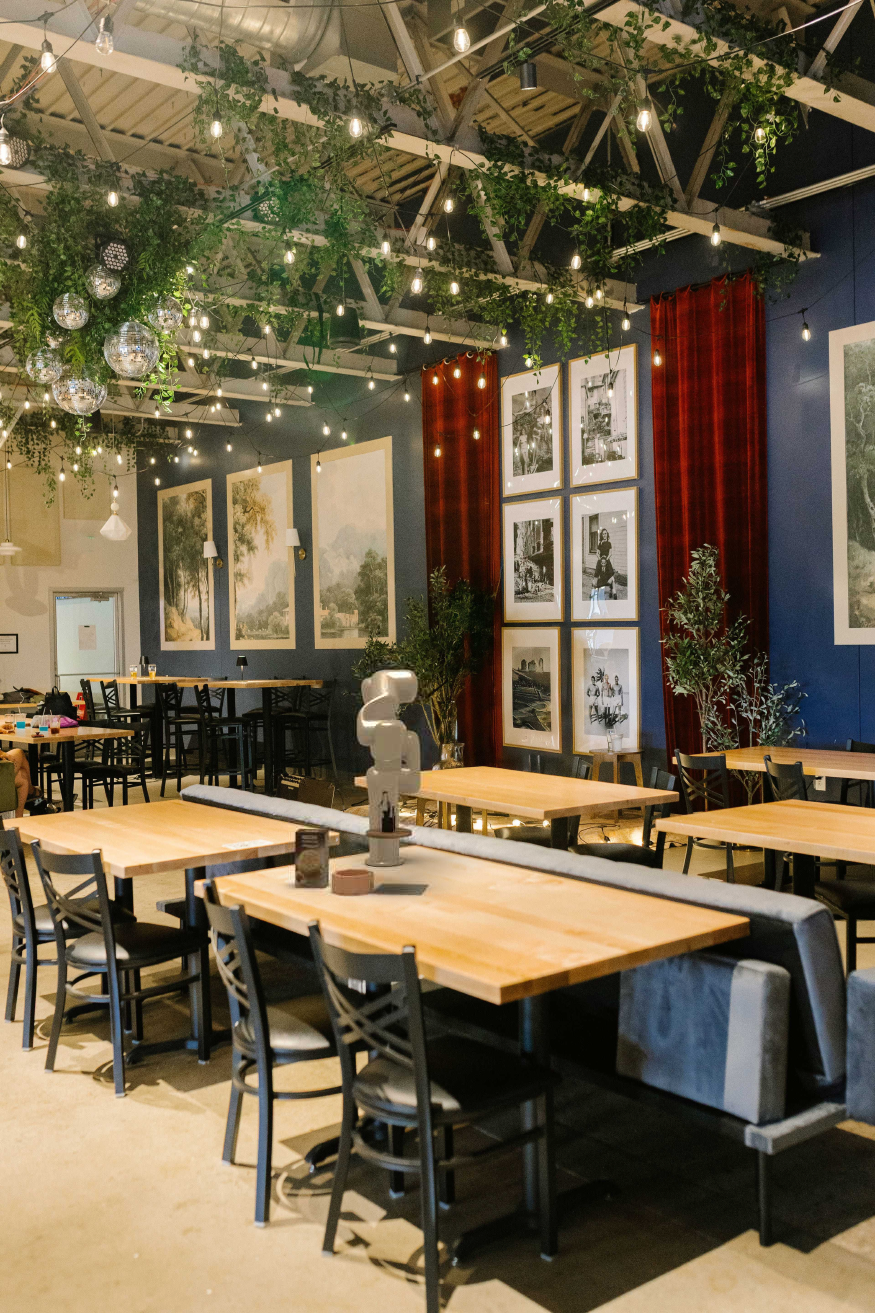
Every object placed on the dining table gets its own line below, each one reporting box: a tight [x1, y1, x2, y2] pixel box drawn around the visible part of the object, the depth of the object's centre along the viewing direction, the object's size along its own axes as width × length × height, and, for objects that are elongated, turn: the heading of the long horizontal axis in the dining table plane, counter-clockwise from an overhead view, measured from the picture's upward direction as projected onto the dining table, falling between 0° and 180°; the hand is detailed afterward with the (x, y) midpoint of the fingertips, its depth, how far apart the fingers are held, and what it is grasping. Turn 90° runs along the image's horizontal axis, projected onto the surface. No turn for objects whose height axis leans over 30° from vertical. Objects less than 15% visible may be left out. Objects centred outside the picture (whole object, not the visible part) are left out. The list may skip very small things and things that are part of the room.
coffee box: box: [294, 828, 330, 889], centre depth 309 cm, size 9×6×16 cm
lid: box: [365, 813, 413, 839], centre depth 300 cm, size 13×13×6 cm
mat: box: [371, 883, 430, 896], centre depth 300 cm, size 14×14×1 cm
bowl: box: [331, 868, 375, 897], centre depth 298 cm, size 11×11×6 cm
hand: (388, 830), depth 300 cm, fingers closed on lid, 2 cm apart
